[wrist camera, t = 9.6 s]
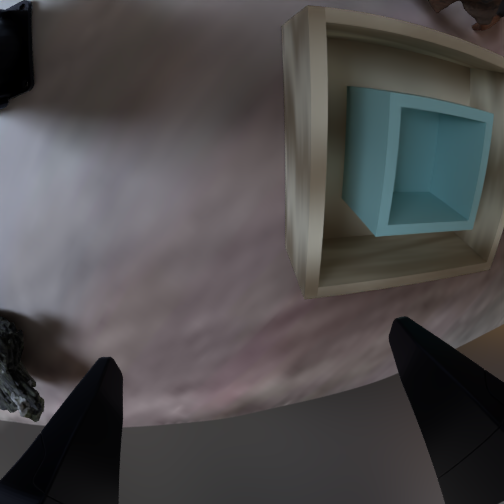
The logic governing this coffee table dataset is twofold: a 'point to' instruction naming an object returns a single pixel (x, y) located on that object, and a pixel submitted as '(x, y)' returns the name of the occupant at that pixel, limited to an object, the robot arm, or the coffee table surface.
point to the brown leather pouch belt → (476, 10)
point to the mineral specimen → (16, 376)
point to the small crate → (413, 161)
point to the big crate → (333, 148)
